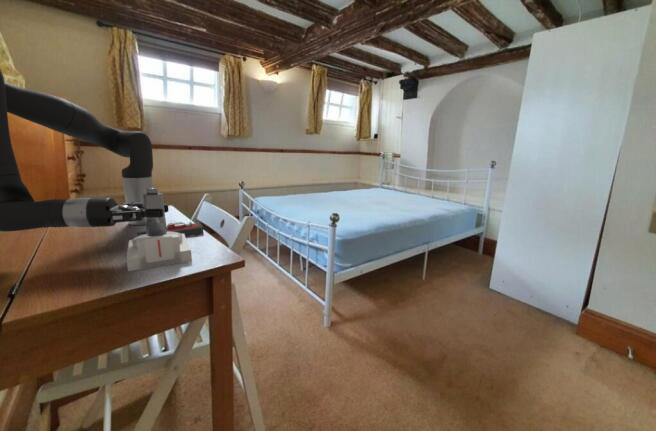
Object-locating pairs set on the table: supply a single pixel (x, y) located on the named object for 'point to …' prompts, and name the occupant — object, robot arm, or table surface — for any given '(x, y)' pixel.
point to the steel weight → (154, 201)
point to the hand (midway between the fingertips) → (165, 210)
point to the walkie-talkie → (182, 228)
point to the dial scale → (157, 251)
